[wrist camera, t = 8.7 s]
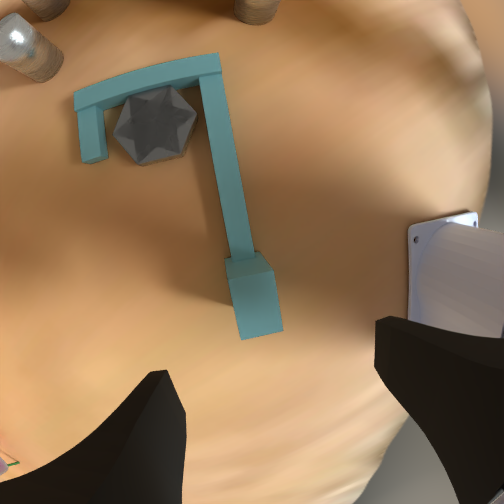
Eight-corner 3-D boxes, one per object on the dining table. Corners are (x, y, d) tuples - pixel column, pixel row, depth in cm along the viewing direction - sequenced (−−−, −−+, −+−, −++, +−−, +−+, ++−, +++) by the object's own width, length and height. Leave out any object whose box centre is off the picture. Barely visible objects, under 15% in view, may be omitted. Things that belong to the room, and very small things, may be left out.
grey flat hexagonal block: (204, 153, 15) (203, 149, 14) (125, 171, 15) (117, 170, 13) (193, 88, 14) (191, 79, 13) (116, 108, 14) (109, 101, 12)
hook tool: (267, 300, 17) (283, 330, 13) (130, 326, 16) (112, 360, 12) (224, 63, 14) (228, 29, 10) (84, 99, 13) (53, 79, 9)
